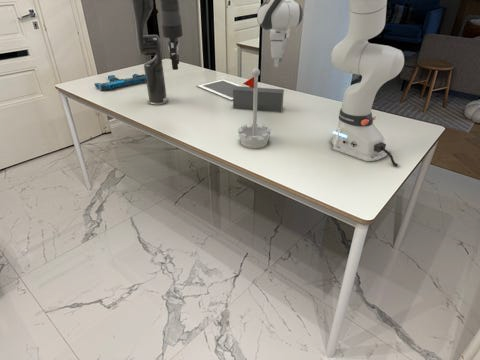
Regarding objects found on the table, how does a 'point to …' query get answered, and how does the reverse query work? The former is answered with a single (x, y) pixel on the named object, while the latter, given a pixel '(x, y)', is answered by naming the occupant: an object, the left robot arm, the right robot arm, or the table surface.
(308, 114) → the table surface
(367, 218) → the table surface
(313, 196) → the table surface
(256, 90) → the flag stand
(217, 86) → the tablet
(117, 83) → the submachine gun
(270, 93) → the box
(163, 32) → the left robot arm
